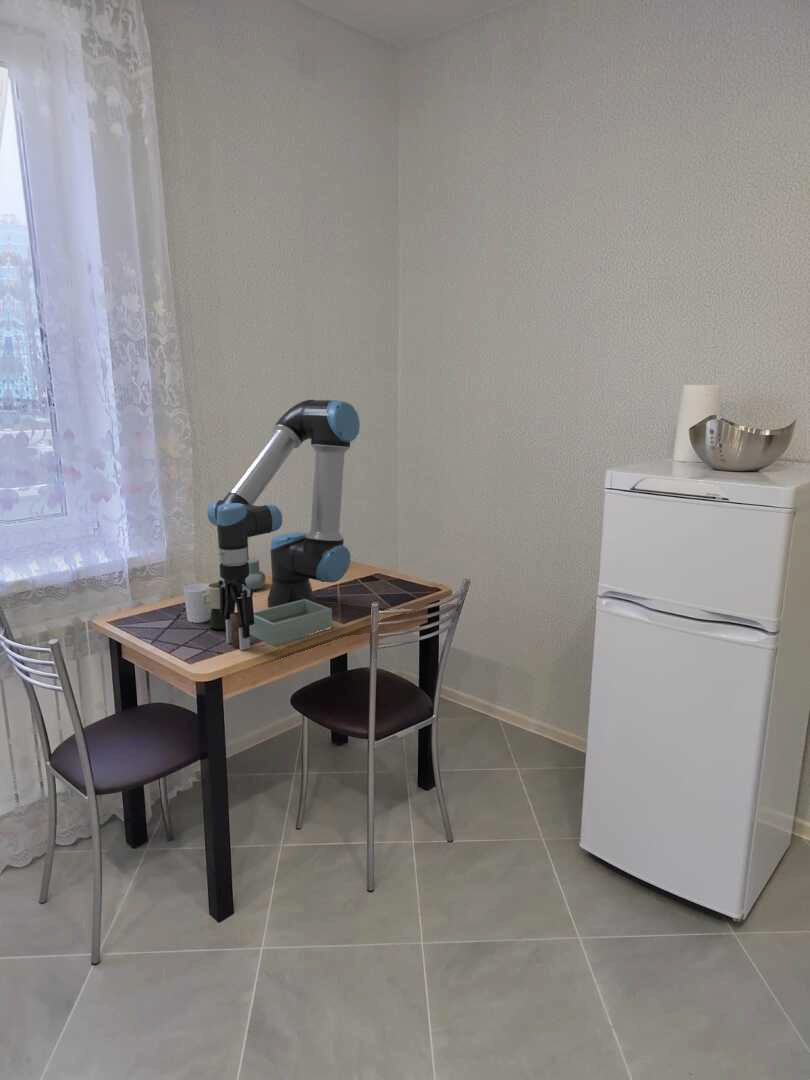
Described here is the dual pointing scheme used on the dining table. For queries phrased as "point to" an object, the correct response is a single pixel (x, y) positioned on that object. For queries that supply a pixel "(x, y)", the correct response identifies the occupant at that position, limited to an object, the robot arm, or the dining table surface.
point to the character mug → (214, 605)
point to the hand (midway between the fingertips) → (238, 645)
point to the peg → (235, 630)
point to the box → (290, 621)
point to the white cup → (196, 603)
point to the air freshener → (254, 575)
